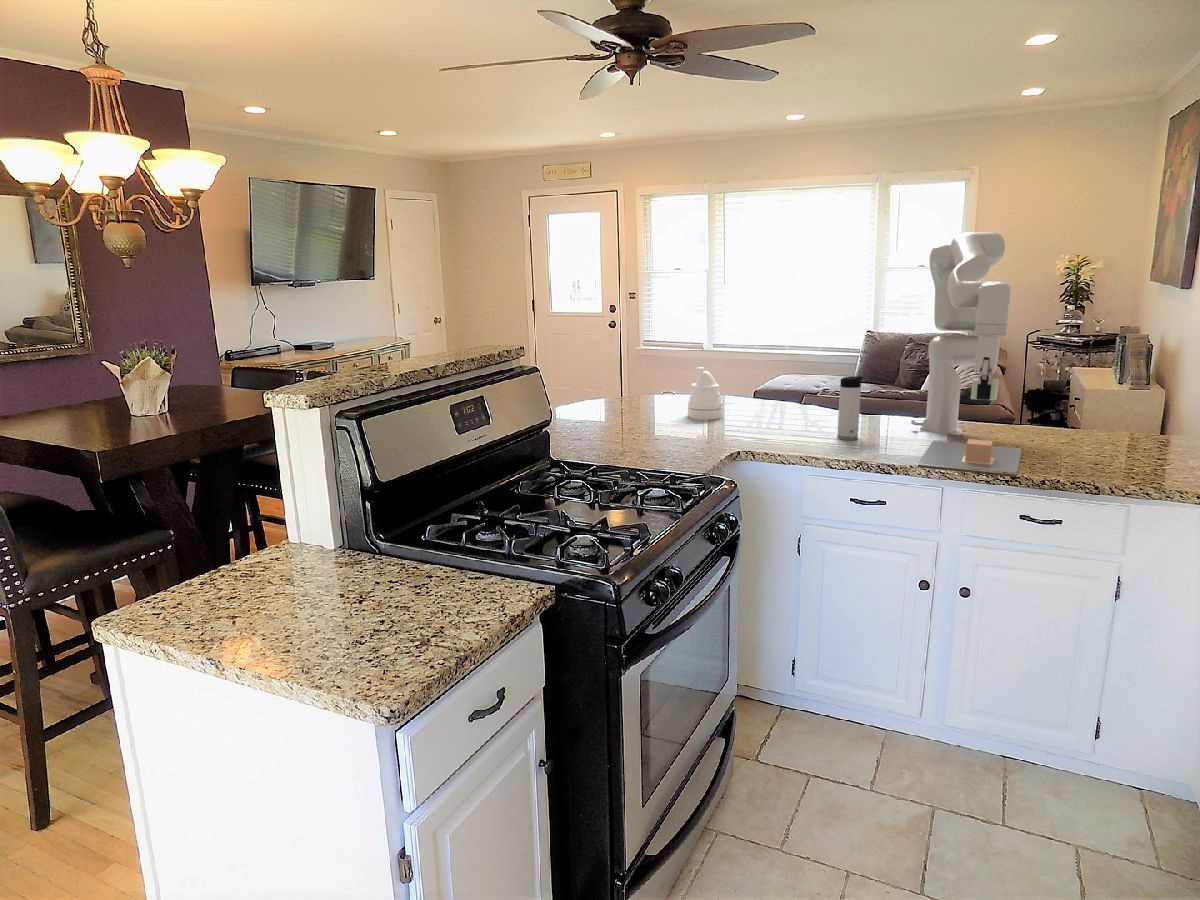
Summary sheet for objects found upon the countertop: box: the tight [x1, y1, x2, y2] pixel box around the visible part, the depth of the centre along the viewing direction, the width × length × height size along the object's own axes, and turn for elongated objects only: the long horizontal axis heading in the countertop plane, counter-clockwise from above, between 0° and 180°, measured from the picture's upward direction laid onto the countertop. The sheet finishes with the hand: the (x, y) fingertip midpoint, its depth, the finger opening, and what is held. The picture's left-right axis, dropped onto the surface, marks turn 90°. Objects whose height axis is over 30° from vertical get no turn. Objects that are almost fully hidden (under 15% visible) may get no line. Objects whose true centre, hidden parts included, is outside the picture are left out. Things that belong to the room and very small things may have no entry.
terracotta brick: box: [965, 438, 994, 463], centre depth 216 cm, size 6×6×5 cm
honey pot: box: [687, 366, 724, 421], centre depth 288 cm, size 13×13×18 cm
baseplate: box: [917, 440, 1023, 478], centre depth 222 cm, size 24×30×1 cm
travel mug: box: [837, 375, 863, 441], centre depth 249 cm, size 6×7×20 cm
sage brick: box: [970, 377, 1000, 402], centre depth 212 cm, size 6×6×5 cm
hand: (984, 396), depth 213 cm, fingers closed on sage brick, 5 cm apart
